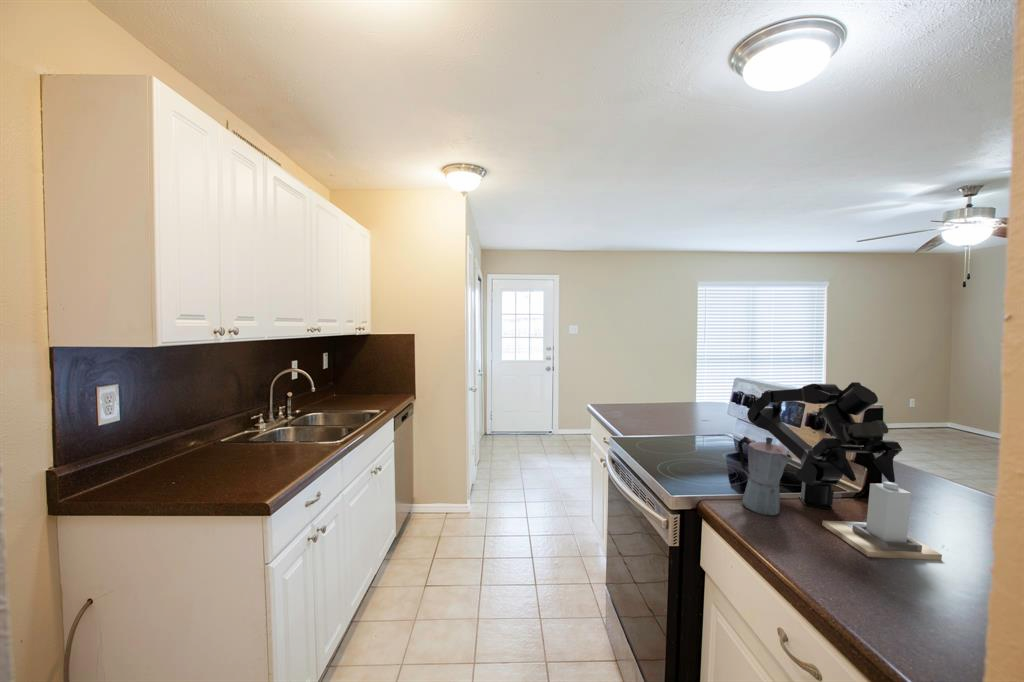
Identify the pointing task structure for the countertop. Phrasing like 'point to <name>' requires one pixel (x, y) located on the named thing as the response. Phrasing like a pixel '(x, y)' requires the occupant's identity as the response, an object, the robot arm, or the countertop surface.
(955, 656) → the countertop surface
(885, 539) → the white rectangular bottle
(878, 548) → the baseplate
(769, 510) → the moka pot
